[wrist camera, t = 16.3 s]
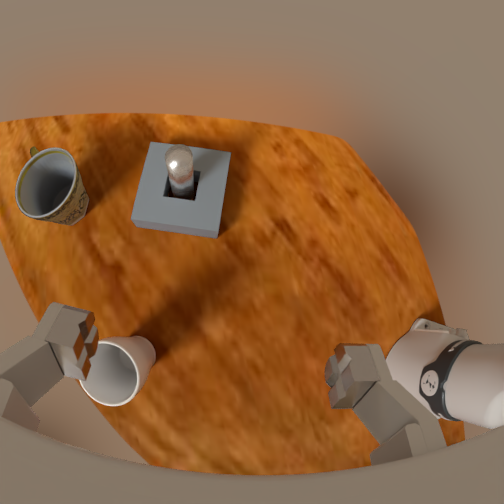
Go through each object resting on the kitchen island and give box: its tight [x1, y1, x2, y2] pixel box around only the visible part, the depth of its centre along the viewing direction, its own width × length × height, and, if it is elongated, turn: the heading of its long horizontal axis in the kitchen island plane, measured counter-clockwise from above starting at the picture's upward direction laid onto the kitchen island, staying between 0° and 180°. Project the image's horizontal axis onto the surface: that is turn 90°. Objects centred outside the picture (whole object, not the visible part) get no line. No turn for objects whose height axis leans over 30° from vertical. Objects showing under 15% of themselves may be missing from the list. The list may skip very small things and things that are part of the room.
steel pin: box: [165, 144, 194, 200], centre depth 39 cm, size 3×3×12 cm
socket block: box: [131, 142, 231, 238], centre depth 43 cm, size 12×12×4 cm
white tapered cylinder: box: [79, 336, 156, 406], centre depth 32 cm, size 7×7×15 cm
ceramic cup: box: [15, 147, 89, 226], centre depth 37 cm, size 13×10×10 cm
